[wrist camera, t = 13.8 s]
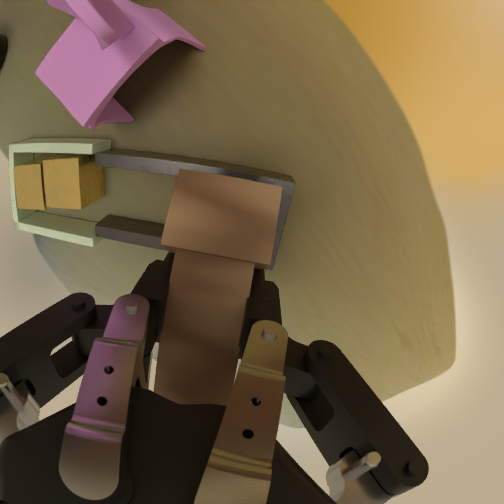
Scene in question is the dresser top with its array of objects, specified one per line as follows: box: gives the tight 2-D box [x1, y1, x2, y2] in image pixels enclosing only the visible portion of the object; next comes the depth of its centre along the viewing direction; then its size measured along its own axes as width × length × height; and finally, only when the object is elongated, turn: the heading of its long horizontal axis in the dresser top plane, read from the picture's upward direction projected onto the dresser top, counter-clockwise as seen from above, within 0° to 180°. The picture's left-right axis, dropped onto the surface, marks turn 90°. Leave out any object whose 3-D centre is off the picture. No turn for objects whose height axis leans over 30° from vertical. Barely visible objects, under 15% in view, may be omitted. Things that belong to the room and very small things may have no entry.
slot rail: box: [95, 149, 295, 270], centre depth 20 cm, size 15×7×2 cm, turn 79°
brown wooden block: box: [154, 168, 283, 406], centre depth 11 cm, size 4×4×10 cm
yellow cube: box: [13, 155, 57, 210], centre depth 18 cm, size 4×4×4 cm
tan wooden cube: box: [43, 153, 105, 210], centre depth 18 cm, size 4×4×4 cm
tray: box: [9, 138, 111, 247], centre depth 19 cm, size 11×9×3 cm
